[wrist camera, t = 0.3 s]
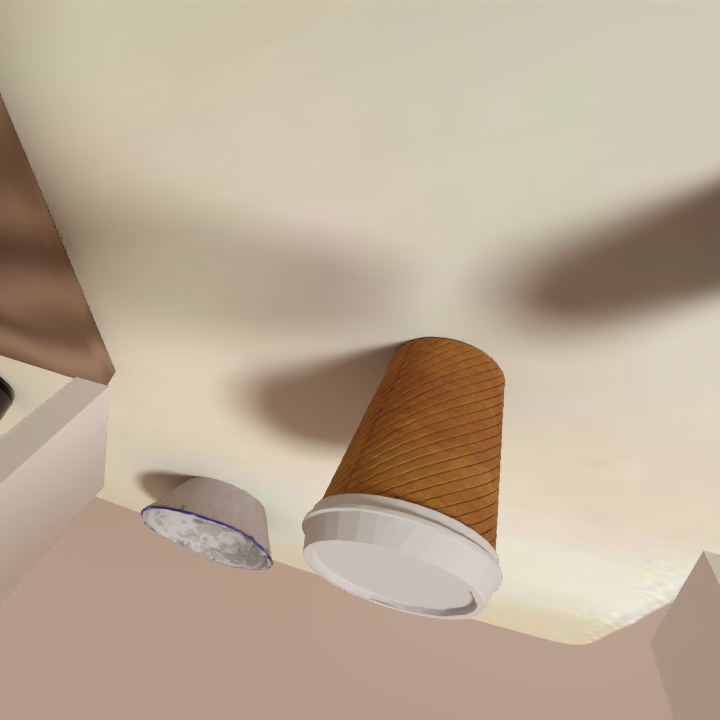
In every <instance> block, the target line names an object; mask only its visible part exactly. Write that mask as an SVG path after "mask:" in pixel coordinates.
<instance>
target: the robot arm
mask: <svg viewBox="0 0 720 720" xmlns="http://www.w3.org/2000/svg"><path fill="white" fill-rule="evenodd" d="M108 403H109V386H107V385H104V384H100V383H96V382H93V381H89V380H85V379H82V378H78V377H76V378H75V379H73V380H72V381H71V382H70V383H68V384H67V385H66V386H64V387H63V388H62V389H61V390H59V391H58V392H57V393H56V394H54V395H53V396H52V397H51V398H49V399H48V400H47V401H46V402H44V403H43V404H42V405H41V406H39V407H38V408H37V409H36V410H34V411H33V412H32V413H31V414H29V415H28V416H27V417H26V418H24V419H23V420H22V421H21V422H19V423H18V424H17V425H16V426H14V427H13V428H12V429H11V430H9V431H8V432H7V433H6V434H4V435H3V436H2V437H1V438H0V605H1V604H2V603H3V601H4V600H5V599H6V598H7V597H8V596H9V595H10V593H11V592H12V591H13V590H14V589H15V588H16V586H17V585H18V584H19V583H20V582H21V581H22V579H23V578H24V577H25V576H26V575H27V574H28V573H29V571H30V570H31V569H32V568H33V567H34V566H35V565H36V563H37V562H38V561H39V560H40V559H41V558H42V557H43V555H44V554H45V553H46V552H47V551H48V550H49V548H50V547H51V546H52V545H53V544H54V543H55V541H56V540H57V539H58V538H59V537H60V536H61V535H62V533H63V532H64V531H65V530H66V529H67V528H68V527H69V525H70V524H71V523H72V522H73V521H74V520H75V519H76V517H77V516H78V515H79V514H80V513H81V512H82V510H83V509H84V508H85V507H86V506H87V505H88V504H89V502H90V501H91V500H92V499H93V498H94V497H95V496H96V494H97V493H98V492H99V491H100V490H101V489H102V487H103V486H104V472H105V455H106V438H107V420H108ZM650 642H651V646H652V649H653V653H654V656H655V659H656V663H657V666H658V669H659V672H660V676H661V679H662V682H663V685H664V689H665V692H666V695H667V698H668V702H669V705H670V709H671V712H672V715H673V718H674V720H720V555H718V554H714V553H710V552H707V551H703V553H702V554H701V556H700V558H699V559H698V561H697V563H696V564H695V566H694V568H693V570H692V571H691V573H690V575H689V576H688V578H687V580H686V581H685V583H684V585H683V587H682V588H681V590H680V592H679V593H678V595H677V597H676V598H675V600H674V602H673V604H672V605H671V607H670V609H669V610H668V612H667V614H666V615H665V618H664V619H663V621H662V622H661V624H660V626H659V627H658V629H657V631H656V632H655V634H654V636H653V638H652V639H651V641H650Z"/></svg>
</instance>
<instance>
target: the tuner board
mask: <svg viewBox="0 0 720 720" xmlns="http://www.w3.org/2000/svg"><path fill="white" fill-rule="evenodd" d="M0 355H2V356H5V357H8V358H11V359H14V360H17V361H21V362H24V363H27V364H30V365H33V366H37V367H40V368H43V369H46V370H49V371H53V372H56V373H59V374H62V375H65V376H68V377H72V378H76V377H78V378H82V379H85V380H89V381H93V382H96V383H100V384H104V385H108V383H109V381H110V380H111V378H112V376H113V375H114V373H115V369H114V367H113V365H112V362H111V360H110V357H109V355H108V353H107V350H106V348H105V345H104V343H103V340H102V338H101V336H100V333H99V331H98V328H97V326H96V324H95V321H94V319H93V316H92V314H91V312H90V309H89V307H88V304H87V302H86V300H85V297H84V295H83V292H82V290H81V288H80V285H79V283H78V280H77V278H76V276H75V273H74V271H73V268H72V266H71V264H70V261H69V259H68V256H67V254H66V252H65V249H64V247H63V244H62V242H61V240H60V237H59V235H58V232H57V230H56V227H55V225H54V223H53V220H52V218H51V215H50V213H49V211H48V208H47V206H46V203H45V201H44V199H43V196H42V194H41V191H40V189H39V187H38V184H37V182H36V179H35V177H34V175H33V172H32V170H31V167H30V165H29V163H28V160H27V158H26V155H25V153H24V151H23V148H22V146H21V143H20V141H19V139H18V136H17V134H16V131H15V129H14V126H13V124H12V122H11V119H10V117H9V114H8V112H7V110H6V107H5V105H4V102H3V100H2V98H1V95H0Z"/></svg>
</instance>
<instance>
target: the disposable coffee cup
mask: <svg viewBox="0 0 720 720" xmlns="http://www.w3.org/2000/svg"><path fill="white" fill-rule="evenodd" d="M504 387H505V378H504V375H503V372H502V370H501V369H500V367H499V366H498V365H497V363H496V362H495V361H494V360H493V359H492V358H491V357H489V356H488V355H486V354H485V353H484V352H482V351H480V350H478V349H476V348H475V347H473V346H470V345H467V344H465V343H462V342H458V341H454V340H450V339H442V338H423V339H417V340H414V341H411V342H409V343H406V344H405V345H403V346H401V347H400V348H399V349H398V350H397V351H396V353H395V355H394V357H393V360H392V362H391V364H390V366H389V368H388V370H387V372H386V374H385V376H384V378H383V380H382V382H381V384H380V386H379V388H378V389H377V392H376V394H375V396H374V397H373V399H372V401H371V403H370V405H369V407H368V409H367V411H366V413H365V415H364V417H363V419H362V421H361V423H360V425H359V427H358V429H357V431H356V433H355V435H354V437H353V439H352V441H351V443H350V445H349V447H348V449H347V451H346V453H345V455H344V457H343V459H342V461H341V463H340V465H339V467H338V469H337V471H336V473H335V475H334V477H333V478H332V481H331V483H330V485H329V487H328V488H327V490H326V492H325V495H324V497H323V498H322V499H321V500H320V501H319V502H318V503H317V504H316V505H315V506H314V508H313V510H311V511H310V512H308V513H307V515H306V516H305V518H304V520H303V522H302V529H303V532H304V534H305V540H304V549H303V556H304V559H305V561H306V563H307V564H308V565H309V566H310V567H311V568H312V569H313V570H314V571H315V572H316V573H318V574H319V575H320V576H322V577H323V578H325V579H326V580H327V581H328V582H330V583H332V584H334V585H335V586H338V587H339V588H341V589H343V590H345V591H347V592H349V593H351V594H353V595H356V596H358V597H360V598H363V599H365V600H368V601H371V602H373V603H376V604H379V605H382V606H384V607H388V608H391V609H395V610H398V611H403V612H406V613H410V614H414V615H420V616H425V617H430V618H440V619H469V618H472V617H475V616H478V615H481V614H482V613H483V611H484V610H485V609H486V606H487V604H488V602H489V599H490V597H491V595H492V593H493V592H495V591H497V590H498V589H499V587H500V585H501V583H502V573H501V570H500V566H499V559H498V555H497V553H496V537H497V534H496V530H497V517H498V495H499V481H500V459H501V447H502V445H501V439H502V419H503V407H504Z"/></svg>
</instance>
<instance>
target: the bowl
mask: <svg viewBox="0 0 720 720" xmlns="http://www.w3.org/2000/svg"><path fill="white" fill-rule="evenodd" d="M141 514H142V519H143V520H144V523H145V524H146V525H148V526H149V527H150V528H151V529H152V530H153V531H154V532H156V533H157V534H159V535H160V536H162V537H164V538H166V539H168V540H169V541H170V542H172V543H174V544H176V545H178V546H179V547H180V548H181V549H186V550H188V551H190V552H192V553H194V554H197V555H199V556H202V557H204V558H206V559H209V560H211V561H214V562H217V563H220V564H223V565H227V566H230V567H235V568H239V569H244V570H262V569H263V570H267V569H269V568H270V567H271V566H272V565H273V562H272V558H271V552H270V545H269V538H268V530H267V528H268V527H267V520H266V514H265V509H264V507H263V505H262V504H261V503H260V502H259V501H258V500H257V499H256V498H255V497H253V496H252V495H250V494H249V493H247V492H246V491H244V490H242V489H240V488H238V487H236V486H233V485H231V484H228V483H226V482H223V481H220V480H216V479H212V478H207V477H194V478H190V479H189V480H187V481H186V482H184V483H183V484H181V485H180V486H178V487H177V488H176V489H174V490H173V491H171V492H170V493H169V494H167V495H166V496H164V497H163V498H161V499H160V500H158V501H156V502H155V503H153V504H151V505H149V506H147V507H146V508H144V509H143V510H142V511H141Z"/></svg>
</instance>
